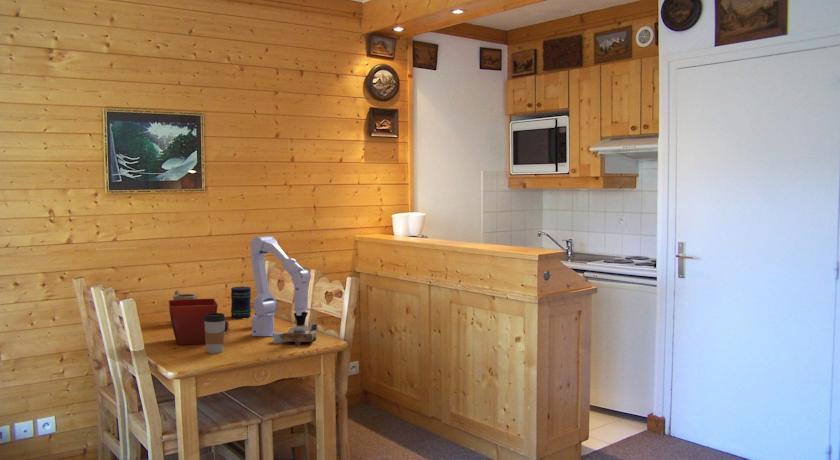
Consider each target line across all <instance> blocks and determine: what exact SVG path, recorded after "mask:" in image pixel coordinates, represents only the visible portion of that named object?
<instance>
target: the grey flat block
mask: <svg viewBox="0 0 840 460" xmlns="http://www.w3.org/2000/svg"><path fill="white" fill-rule="evenodd" d="M318 331H319V330H318V323H317V322H313V323H312V324H310V325H308V327H305V333H294V327H290V328H289V330H288V331H287V332H282V333H283V341H284V343H285V342H290V343H291V342H292V343H293V342H295V343H294V345H295V346H300V345H302V343H301V342H303V343H306V342H307V343H308V342H310V343H311V342H313V341H316V340H317V333H318Z"/></svg>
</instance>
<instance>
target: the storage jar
mask: <svg viewBox="0 0 840 460" xmlns="http://www.w3.org/2000/svg"><path fill="white" fill-rule="evenodd" d="M251 290H252V287H250V286H235V287H234V286H233V287H230V291H231V293H230V296H231V297H230V299H231V307H230V313H231V314H230V315H231V316H230V318H231V319H233V318H235V320H244V319H243V318H247V319H250V318H251V314H252V313H251V312H252V306H251V300H252V291H251ZM249 317H250V318H249Z"/></svg>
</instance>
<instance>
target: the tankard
mask: <svg viewBox="0 0 840 460" xmlns="http://www.w3.org/2000/svg"><path fill="white" fill-rule="evenodd" d="M172 296H173V297H172V298H173V299H172V300H186V299H198V295H197V294H195V293H180V291H179V289H175V292H174V295H172ZM169 325H171V326H172V323H171V320H170V322H169Z"/></svg>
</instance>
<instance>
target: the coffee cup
mask: <svg viewBox="0 0 840 460" xmlns="http://www.w3.org/2000/svg"><path fill="white" fill-rule="evenodd" d="M204 323H205V341H206V343H205V350H206V352H207V354H220V353H223V351H224V344H225V331H226V330H225V325H226V316H225V313H223V312H217V313H209V314H206V315H205V317H204Z"/></svg>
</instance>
